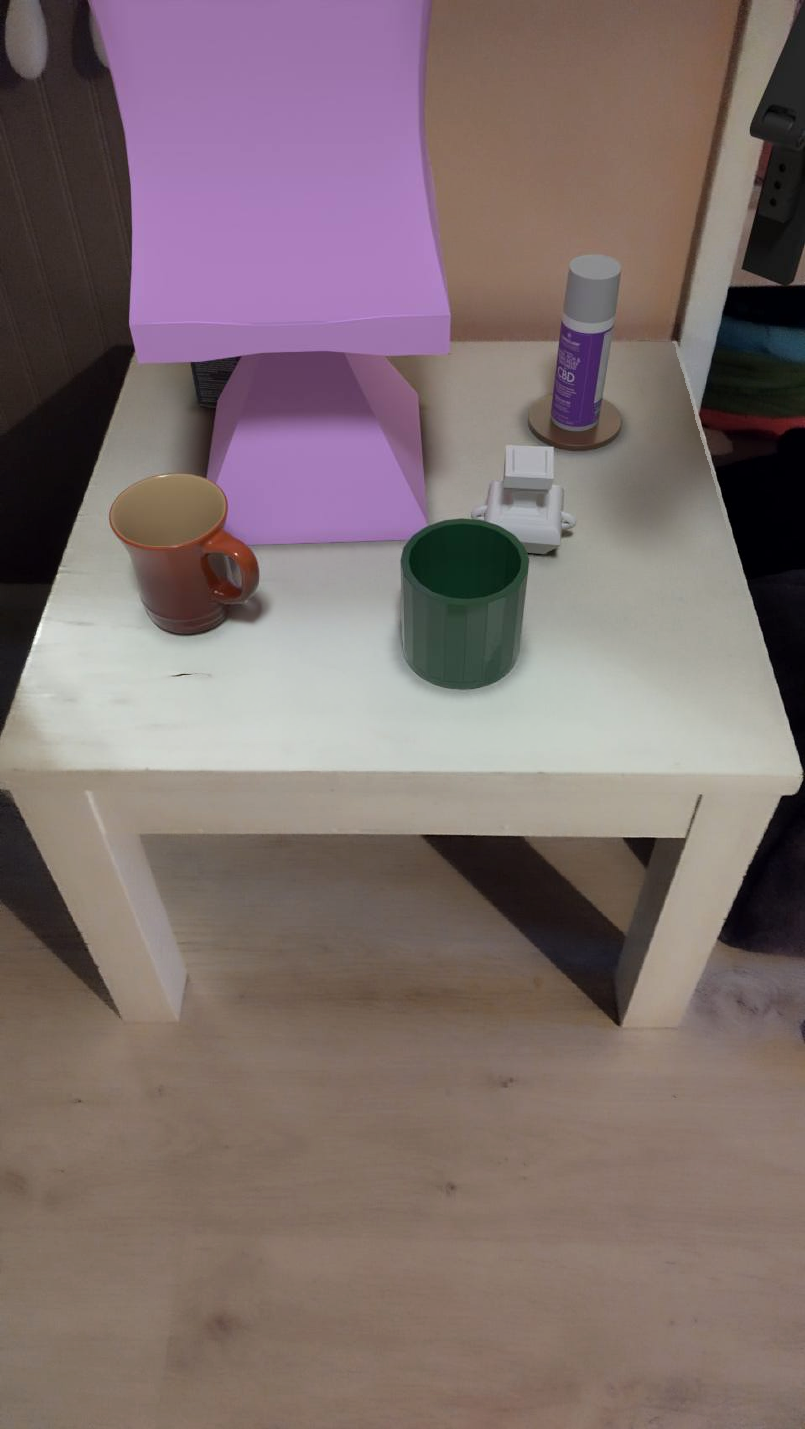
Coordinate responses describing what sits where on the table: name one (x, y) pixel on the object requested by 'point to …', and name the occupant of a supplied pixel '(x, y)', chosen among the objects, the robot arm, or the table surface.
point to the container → (585, 341)
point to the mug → (183, 550)
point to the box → (212, 379)
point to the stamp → (528, 499)
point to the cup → (462, 602)
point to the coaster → (574, 440)
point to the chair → (288, 245)
